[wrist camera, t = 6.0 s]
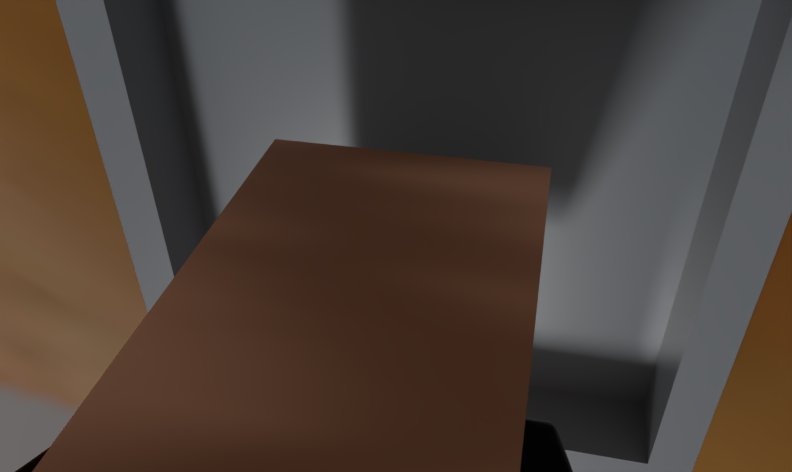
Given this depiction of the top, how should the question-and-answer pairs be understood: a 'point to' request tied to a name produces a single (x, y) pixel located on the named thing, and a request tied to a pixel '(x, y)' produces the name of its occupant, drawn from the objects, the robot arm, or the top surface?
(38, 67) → the top surface
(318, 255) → the terracotta peg
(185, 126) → the grey rectangular bin
